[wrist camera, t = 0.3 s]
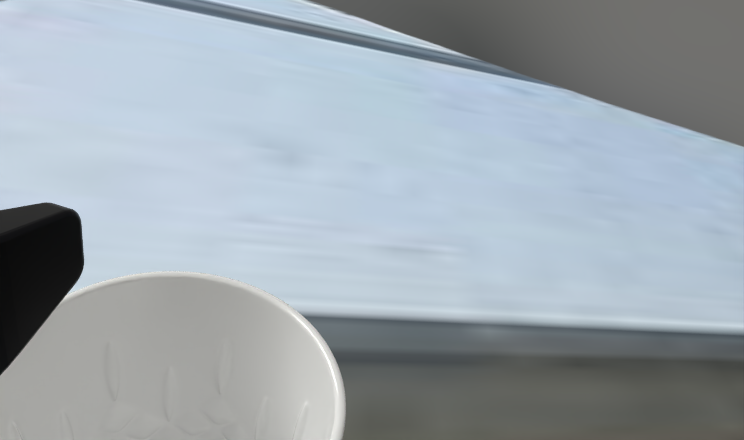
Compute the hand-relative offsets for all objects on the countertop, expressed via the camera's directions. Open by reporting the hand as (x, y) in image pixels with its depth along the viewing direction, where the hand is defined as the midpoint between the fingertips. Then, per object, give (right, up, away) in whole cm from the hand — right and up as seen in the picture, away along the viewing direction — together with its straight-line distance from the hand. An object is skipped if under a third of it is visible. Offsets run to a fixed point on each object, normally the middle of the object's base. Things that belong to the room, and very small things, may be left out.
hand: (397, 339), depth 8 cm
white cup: (-7, -10, +12) cm, 17 cm away
